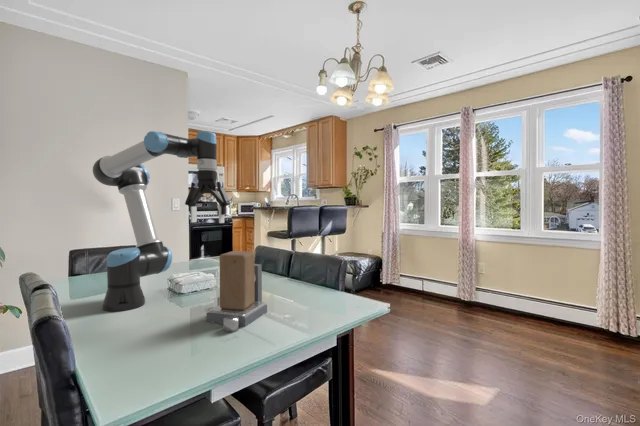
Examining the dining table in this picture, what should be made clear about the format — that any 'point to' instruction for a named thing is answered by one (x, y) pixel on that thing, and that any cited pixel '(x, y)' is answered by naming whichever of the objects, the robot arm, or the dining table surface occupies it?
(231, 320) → the cylinder
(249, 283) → the wooden block
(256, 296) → the base
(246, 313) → the pan
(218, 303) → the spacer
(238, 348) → the dining table surface
